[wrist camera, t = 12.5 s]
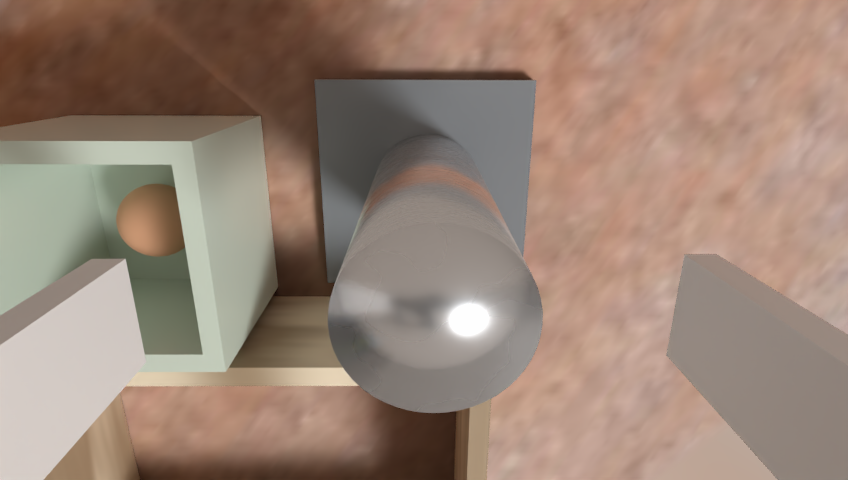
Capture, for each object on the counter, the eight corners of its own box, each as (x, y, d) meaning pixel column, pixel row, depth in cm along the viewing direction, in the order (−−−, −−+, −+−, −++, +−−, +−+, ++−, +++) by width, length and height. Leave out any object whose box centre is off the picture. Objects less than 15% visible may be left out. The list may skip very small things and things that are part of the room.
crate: (131, 504, 29) (62, 612, 23) (80, 296, 25) (-21, 368, 19) (467, 502, 29) (478, 610, 23) (476, 296, 25) (492, 367, 19)
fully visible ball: (146, 242, 23) (108, 267, 20) (134, 176, 22) (92, 194, 19) (213, 241, 23) (184, 268, 20) (204, 176, 22) (172, 194, 19)
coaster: (329, 277, 24) (327, 282, 24) (317, 78, 21) (314, 79, 21) (518, 277, 24) (521, 282, 24) (533, 80, 21) (536, 80, 21)
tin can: (376, 237, 23) (333, 413, 12) (372, 133, 21) (320, 222, 10) (478, 237, 23) (534, 413, 12) (482, 134, 21) (551, 222, 10)
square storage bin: (109, 286, 24) (-6, 372, 18) (71, 115, 22) (-81, 140, 15) (278, 286, 24) (225, 372, 18) (260, 115, 22) (191, 141, 15)
